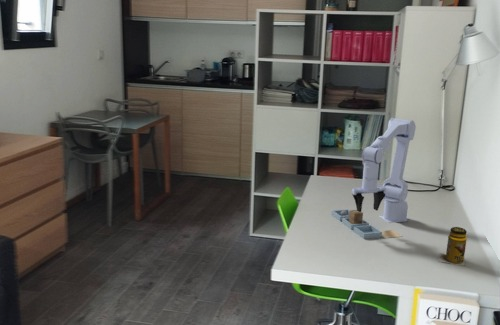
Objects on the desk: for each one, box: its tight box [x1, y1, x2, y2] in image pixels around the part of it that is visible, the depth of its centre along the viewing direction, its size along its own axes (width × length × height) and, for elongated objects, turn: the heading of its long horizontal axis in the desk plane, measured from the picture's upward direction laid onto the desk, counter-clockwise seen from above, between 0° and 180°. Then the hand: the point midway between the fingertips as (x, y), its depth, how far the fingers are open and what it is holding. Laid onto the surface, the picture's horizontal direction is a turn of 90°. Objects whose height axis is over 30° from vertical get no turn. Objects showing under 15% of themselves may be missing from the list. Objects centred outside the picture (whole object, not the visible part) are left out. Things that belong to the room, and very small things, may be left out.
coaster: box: [380, 229, 404, 239], centre depth 205 cm, size 7×7×1 cm
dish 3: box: [353, 224, 383, 240], centre depth 204 cm, size 8×8×2 cm
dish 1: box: [330, 208, 351, 222], centre depth 222 cm, size 8×8×2 cm
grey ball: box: [341, 211, 348, 216], centre depth 222 cm, size 3×3×3 cm
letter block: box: [349, 209, 364, 224], centre depth 212 cm, size 4×4×6 cm
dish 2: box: [341, 218, 370, 231], centre depth 213 cm, size 8×8×2 cm
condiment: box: [438, 226, 468, 267], centre depth 182 cm, size 7×8×12 cm
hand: (367, 210), depth 203 cm, fingers open, 7 cm apart
